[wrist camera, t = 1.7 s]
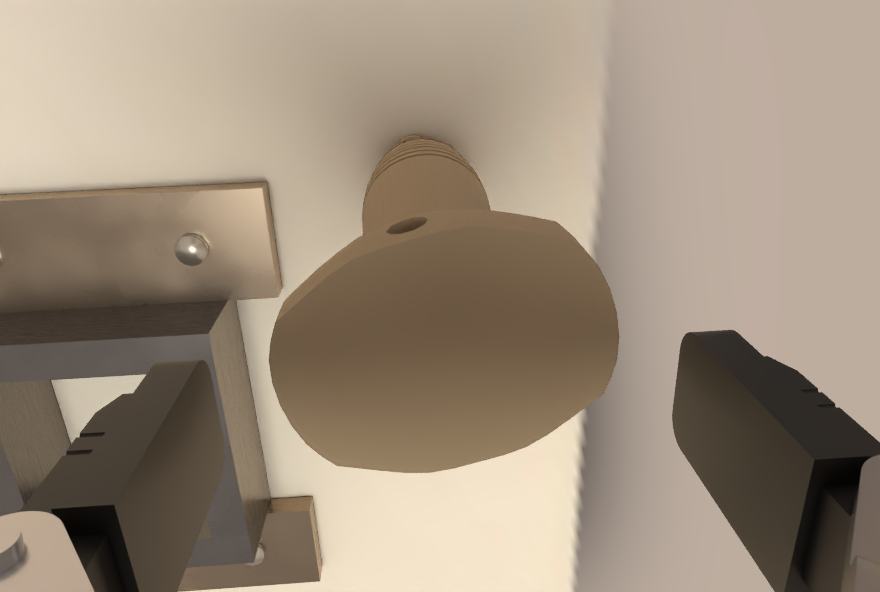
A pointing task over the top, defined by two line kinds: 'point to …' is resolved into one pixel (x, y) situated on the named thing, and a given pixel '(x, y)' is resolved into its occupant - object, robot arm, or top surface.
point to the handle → (441, 326)
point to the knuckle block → (147, 345)
